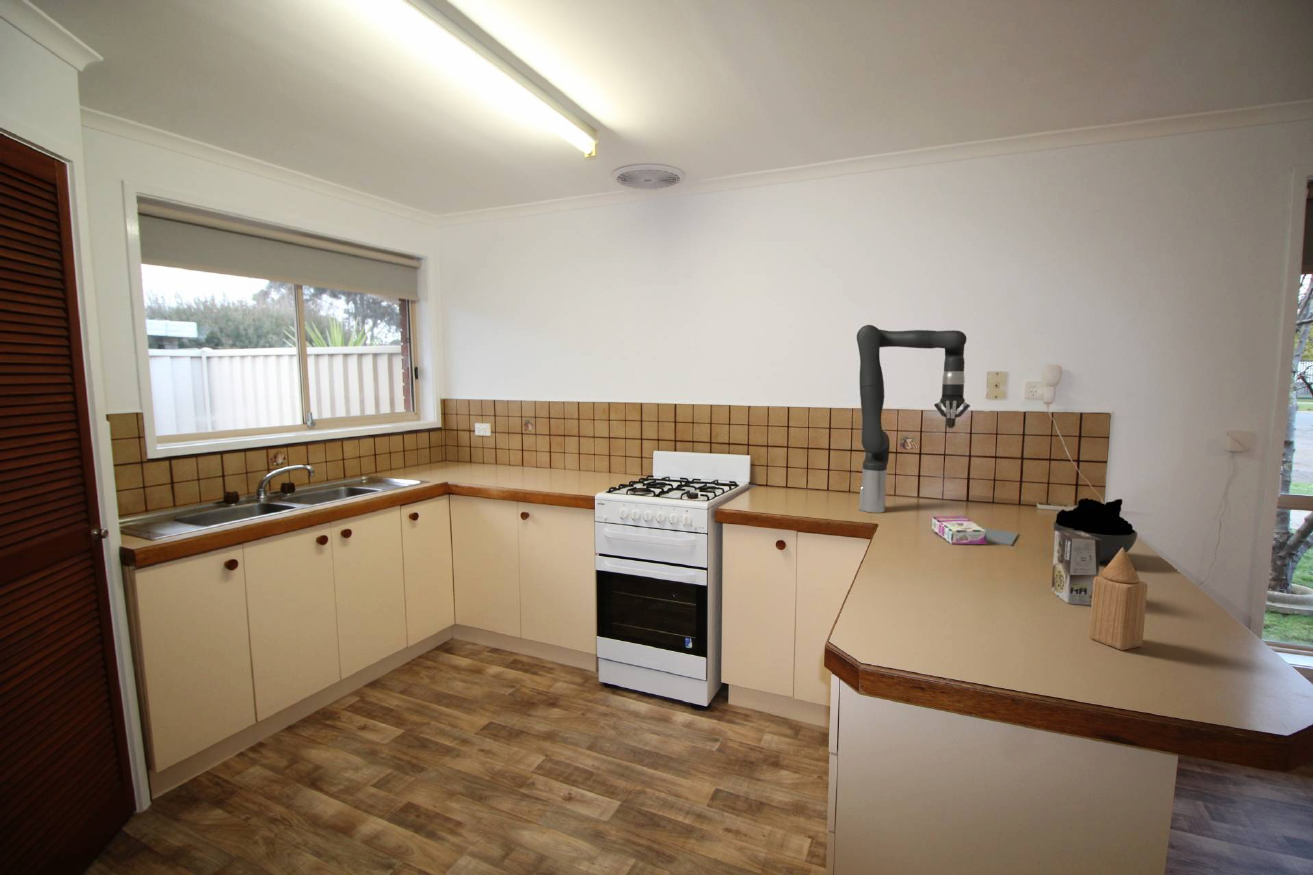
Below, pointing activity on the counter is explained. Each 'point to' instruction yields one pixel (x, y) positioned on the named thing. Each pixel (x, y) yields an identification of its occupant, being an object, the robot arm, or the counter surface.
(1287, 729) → the counter surface
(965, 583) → the counter surface
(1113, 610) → the decorative item
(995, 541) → the mat
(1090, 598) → the coffee box
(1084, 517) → the bowl of black rocks
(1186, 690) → the counter surface
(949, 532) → the candy bar box
